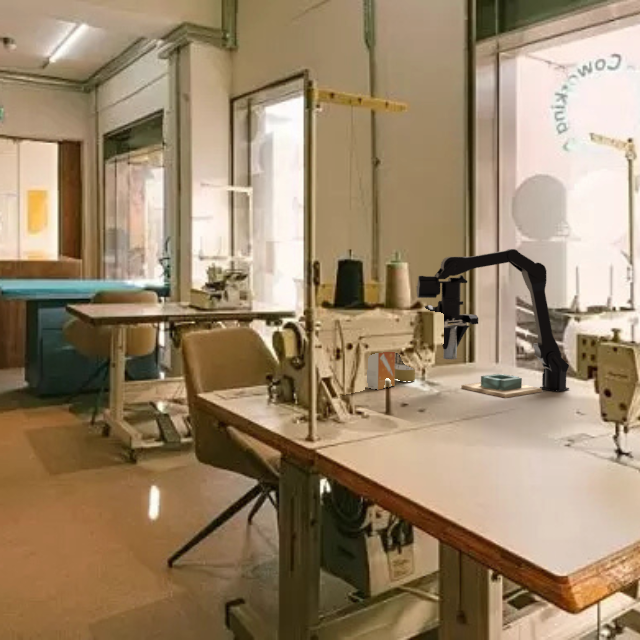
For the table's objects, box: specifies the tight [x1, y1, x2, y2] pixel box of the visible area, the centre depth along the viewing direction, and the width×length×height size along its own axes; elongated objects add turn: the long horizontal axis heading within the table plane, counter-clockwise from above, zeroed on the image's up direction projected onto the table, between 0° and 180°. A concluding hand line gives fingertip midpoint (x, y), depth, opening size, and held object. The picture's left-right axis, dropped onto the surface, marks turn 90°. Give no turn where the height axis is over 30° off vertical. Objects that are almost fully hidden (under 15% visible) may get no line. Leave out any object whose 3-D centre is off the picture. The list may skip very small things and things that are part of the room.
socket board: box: [461, 373, 543, 399], centre depth 230 cm, size 18×16×4 cm
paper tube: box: [395, 353, 416, 383], centre depth 245 cm, size 7×7×25 cm
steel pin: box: [443, 324, 458, 360], centre depth 229 cm, size 4×4×10 cm
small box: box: [367, 352, 396, 391], centre depth 235 cm, size 8×6×13 cm
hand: (450, 348), depth 229 cm, fingers closed on steel pin, 4 cm apart
